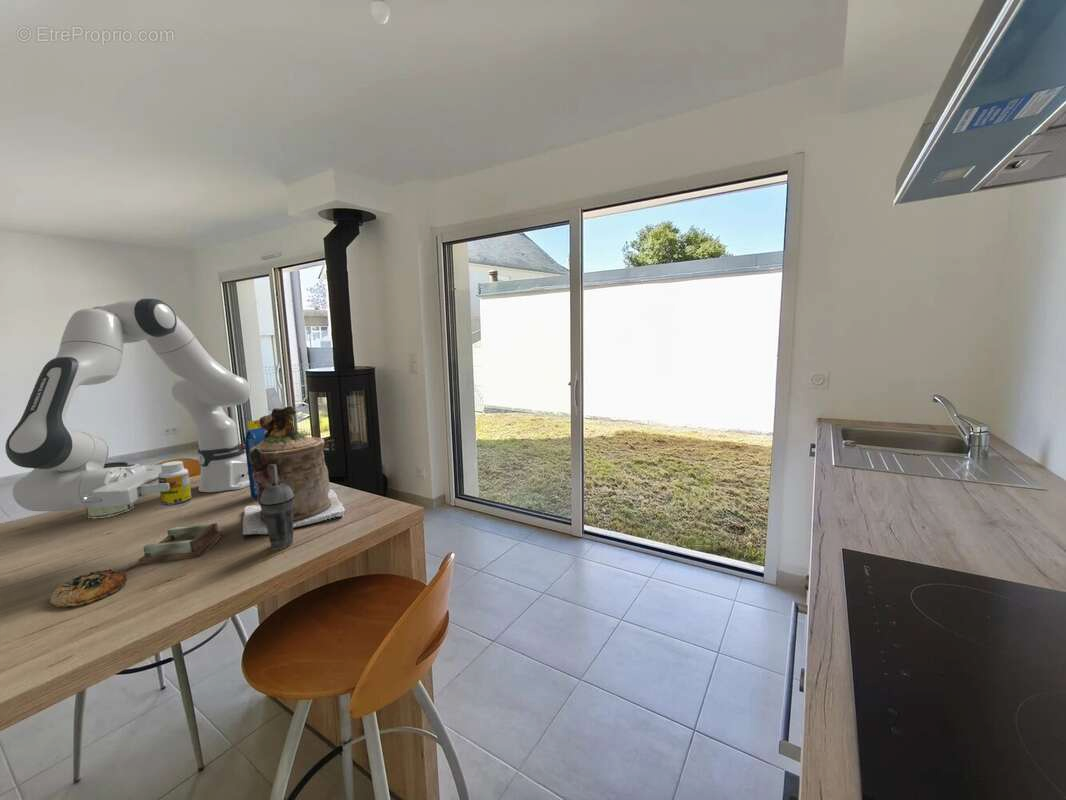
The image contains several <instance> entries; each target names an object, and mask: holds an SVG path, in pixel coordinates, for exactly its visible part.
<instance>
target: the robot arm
mask: <svg viewBox="0 0 1066 800" xmlns="http://www.w3.org/2000/svg"><path fill="white" fill-rule="evenodd" d="M145 340H146V342H147V343H148V345H149V346H150V348H151V349H152V350H153V351H154V353H155V354H156V355H157V356H158V358H159V359H160V360H161V361H162V362H163V364H165V366H166V367H167V368H168V369H169V371H170V372H171V373H173V374H174V375H176V376H179V377H180V378H179V379H177V380H175V381H174V383H173V385H172V387H171V394H172V397H173V399H174V400H175V401H176V402H177V403H179V404H180V405H181V406H182V407H183V408H184V409H185V410H186V411H187V413H188V415H189V416H190V419H191V420H192V422H193V424H194V428H195V432H196V438H197V444H198V449H197V455H198V456H197V458H198V463H199V466H200V479H199V485H198V489H197V490H198V491H199V492H203V493H217V492H218V493H219V492H225V491H236V490H237V491H238V490H240V489H244V488H247V487H250V483H249V475H248V466H247V458H246V449H245V443H243V444H242V443H240V442H239V439H238V432H237V431H238V430H237V424H236V422H235V420H234V419H232V418H231V417H229V416H228V415H227V414H226V413H225V411H224V409H223V408H232V407H236V406H240V405H243V404H245V403H247V402H248V400H249V399H250V396H251V391H252V390H251V386H250V383H249V382H248V380H247V379H245V378H244V377H242V376H240V375H239V376H238V375H236V374H235V373H233V372H231V371H230V370H228V369H227V368H225V367H224V366H223V365H221V364H220V363H219V362H218V361H217V360H215V359H214V358H213V357H212V356H211V355H210V354H209V353H208V352H207V351H206V350H205V348H204V346H202V344H201V343H200V341H199V340H198V339H197V338H196V336H195V335H194V334H193V332H192V331H191V330H190V328H188V326H187V325H186V324H185V322H183V321H182V320H181V319H180V318H179V316H177V315H176V313H175V311H174V310H173V308H172V307H171V306H170V305H169V304H167V303H166V302H164V301H163V300H160V299H157V298H141V299H135V300H134V299H131V300H124V301H123V300H121V301H118V302H114V303H109V304H106V305H103V306H94V307H92V308H84V309H83V308H82V309H79V310H77V311H75V312H73V313H72V315H71V317H70V319H68V322H67V324H66V326H65V329H64V331H63V333H62V337H61V341H60V343H59V349H58V352H57V354H56V356H55V358H52V359H51V360H49V361H47V363H46V364H45V365H44V366H43V368H42V370H41V371H40V373H39V375H38V378H37V380H36V382H35V384H34V387H33V389H32V391H31V394H30V397H29V399H28V402H27V404H26V407H25V409H24V412H23V413H22V416H21V418H20V419H19V422H17V424H16V426H15V427H14V428H13V429H12V430H11V433H10V434H9V435H8V438H7V439H6V442H5V454H6V455H7V458H8V459H9V461H10V462H11V463H13V464H14V465H16V466H18V467H21V468H26V469H32V470H31V471H30V472H29V473H28V474H26V475H24V476H23V477H21V478H20V479H18V480H16V482H15V483H14V485H13V487H12V496H13V499H14V501H15V502H16V504H17V505H18V506H20V507H21V508H23V509H25V510H28V511H33V512H61V511H62V512H63V511H70V510H75V509H78V508H85V509H86V508H97V507H118V506H125V505H129V504H132V503H135V502H137V501H139V500H140V499H142V498H144V497H146V496H148V495H152V494H156V493H160V492H162V491H168V490H170V489H171V488H172V483H171V482H162V483H159V480H158V474H159V473H160V472H163V471H162V470H161V465H162V464H145V465H140V463H130V464H128V465H125V466H121V467H111V468H104V466H105V464H106V462H107V459H108V457H109V446H108V444H107V442H106V441H105V440H104V439H103V438H101V437H99V436H96V435H94V434H90V433H87V432H85V431H80V430H77V429H73V428H70V426H69V425H68V424H67V422H66V416H67V412H68V411H69V410H68V409H69V408H70V405H71V402H72V398H73V396H74V392H75V391H76V389H77V388H78V387H79V386H93V385H99V384H104V383H106V382H108V381H111V380H113V379H114V378H115V377H116V376H117V375H118V372H119V371H120V369H121V365H122V359H123V353H124V344H129V343H138V342H141V341H145Z"/></svg>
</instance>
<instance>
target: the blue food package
mask: <svg viewBox="0 0 1066 800" xmlns="http://www.w3.org/2000/svg"><path fill="white" fill-rule="evenodd" d="M259 420H260V419H256V420H251V421H250V420H249V421H247V428H248V430H247V432H246V435H245V437H244V444H245V449H244V450H245V453H246V458H247V466H248V475H249V483H250V485H249V489H250V490H249V491H250V497H251V498H254V499H257V500H258V493H259V485H258V484H257V483H255V481H254V479H253V474H254V473H253V472H252V469H251V464H252V463H251V462H250V460H249V450H250V449H252V448H253V447H255V446H257V445H258V444H259V443H260V442H261V441H262V440H264V439H265V434H266V433H267V432H268V431H267V430H266V429H263V428H261V425H260V421H259Z"/></svg>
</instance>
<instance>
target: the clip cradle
mask: <svg viewBox="0 0 1066 800" xmlns="http://www.w3.org/2000/svg"><path fill="white" fill-rule="evenodd" d="M223 533H224V530H219V527H218V523H217V522H215V523H208V524H207V523H206V524H199V525H188V526H186V525H185V526H179V527H171V528H169V529H167V536H166V537H164V538H163V539H162V540H160V541H159V542H158V543H153V544H150V543H149V544H145V545H144V546H143V547H142V548H143V552H144V553H143V554H144V555H143V556H141V558H139V559H138V564H139V563H143V564H148V563H147V562H151V563H158V561H160V562H166V561H165V560H168V561H174V559H176V560H182V559H183V558H185V559H192V558H191V557H193V558H198V557H197V556H200V557H201V556H203V555H204V554H205V553H206V550H207V549H208V548H209V547H210V546H211V545H212V544H213V543H214V542H215V541H216V540H217V539H218V538H219V537H220V536H222V535H223ZM224 534H225V533H224ZM223 536H224V535H223ZM223 536H222V537H223ZM219 539H220V538H219ZM219 539H218V540H219ZM218 540H217V541H218ZM217 541H216V542H217ZM216 542H215V543H216ZM215 543H214V544H215ZM214 544H213V545H214ZM213 545H212V546H213ZM212 546H211V547H212ZM211 547H210V548H211ZM210 548H209V549H210ZM209 549H208V550H209ZM208 550H207V551H208ZM183 560H184V559H183Z"/></svg>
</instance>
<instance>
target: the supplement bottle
mask: <svg viewBox="0 0 1066 800" xmlns="http://www.w3.org/2000/svg"><path fill="white" fill-rule="evenodd" d="M160 465H161V470H162V471H163V472H160V473H159V474H158V480H159V483H162V482H171V483H172V488H171V489H170V490H168V491H162V492H159V494H160V501H161V505H162V507H163V508H165V509H175V508H180V507H183V506H186V505H188V504H190V503H191V502H192V490H191V483H190V475H189V470H188V469H187V468H185V467H184V463H183V461H182V460H181V461H180V460H175V461H167V462H165V463H164V462H163V463H162V464H160Z"/></svg>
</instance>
